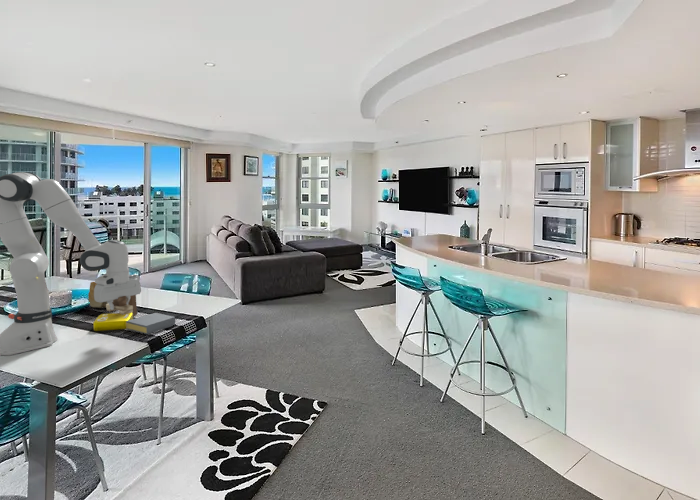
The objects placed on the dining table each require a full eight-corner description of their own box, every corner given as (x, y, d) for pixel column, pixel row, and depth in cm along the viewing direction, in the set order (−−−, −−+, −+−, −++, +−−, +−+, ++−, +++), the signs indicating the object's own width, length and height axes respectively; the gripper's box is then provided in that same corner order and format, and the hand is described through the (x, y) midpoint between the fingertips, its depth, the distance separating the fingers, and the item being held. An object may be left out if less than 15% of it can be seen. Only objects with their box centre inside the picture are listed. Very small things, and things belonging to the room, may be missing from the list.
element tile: (128, 329, 210) (127, 319, 209) (92, 332, 205) (91, 322, 204) (133, 320, 224) (133, 311, 223) (100, 322, 219) (99, 313, 219)
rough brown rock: (138, 308, 245) (138, 281, 244) (107, 313, 231) (107, 284, 231) (115, 303, 258) (115, 277, 257) (85, 307, 244) (85, 280, 243)
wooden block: (128, 319, 223) (126, 284, 221) (119, 319, 223) (117, 284, 221) (137, 314, 232) (135, 280, 229) (128, 314, 232) (126, 280, 230)
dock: (146, 334, 202) (145, 326, 201) (126, 329, 208) (125, 321, 208) (175, 324, 216) (175, 316, 215) (155, 320, 222) (155, 312, 222)
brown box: (119, 306, 193) (119, 297, 192) (112, 304, 195) (111, 295, 195) (126, 304, 196) (125, 296, 195) (119, 303, 198) (118, 294, 197)
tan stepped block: (123, 314, 191) (123, 308, 191) (106, 310, 197) (105, 304, 196) (133, 312, 195) (132, 305, 195) (115, 308, 201) (115, 301, 200)
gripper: (134, 272, 204) (135, 301, 206) (90, 280, 186) (92, 312, 188) (143, 274, 201) (144, 303, 203) (100, 282, 183) (101, 314, 185)
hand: (119, 307), depth 196 cm, fingers closed on tan stepped block, 5 cm apart
